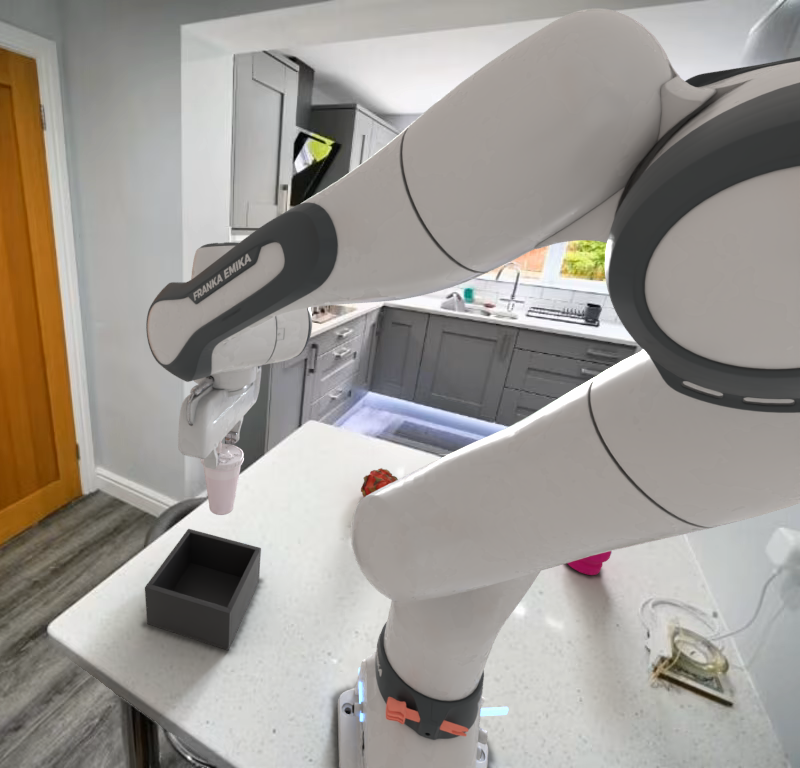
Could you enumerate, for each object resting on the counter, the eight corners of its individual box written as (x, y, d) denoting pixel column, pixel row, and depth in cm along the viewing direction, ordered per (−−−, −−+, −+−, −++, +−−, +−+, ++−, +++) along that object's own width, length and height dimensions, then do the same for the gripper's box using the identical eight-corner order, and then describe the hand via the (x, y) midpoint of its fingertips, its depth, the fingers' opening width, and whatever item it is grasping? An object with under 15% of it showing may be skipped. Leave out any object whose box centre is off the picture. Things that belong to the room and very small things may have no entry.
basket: (228, 650, 64) (229, 613, 62) (147, 623, 67) (144, 587, 65) (259, 581, 77) (261, 547, 74) (188, 561, 80) (188, 528, 77)
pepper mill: (605, 564, 87) (643, 479, 79) (598, 583, 82) (638, 495, 74) (565, 544, 91) (597, 462, 83) (556, 562, 86) (590, 477, 78)
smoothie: (221, 490, 72) (222, 414, 67) (250, 506, 69) (254, 427, 64) (191, 508, 67) (190, 428, 62) (221, 526, 64) (223, 443, 59)
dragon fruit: (377, 491, 107) (380, 530, 96) (352, 472, 105) (352, 509, 94) (403, 472, 103) (409, 511, 92) (377, 452, 101) (380, 489, 90)
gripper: (212, 397, 49) (212, 498, 55) (269, 349, 68) (264, 427, 73) (162, 388, 51) (167, 487, 56) (231, 343, 69) (229, 420, 74)
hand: (222, 453), depth 65 cm, fingers closed on smoothie, 6 cm apart
